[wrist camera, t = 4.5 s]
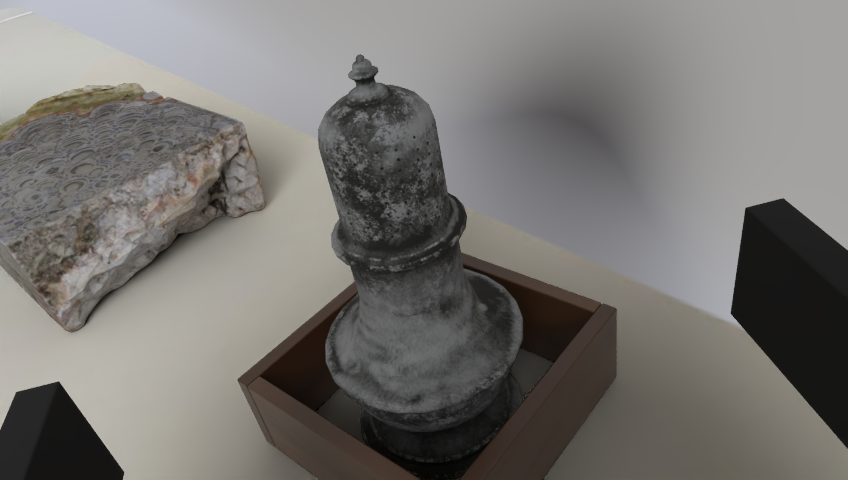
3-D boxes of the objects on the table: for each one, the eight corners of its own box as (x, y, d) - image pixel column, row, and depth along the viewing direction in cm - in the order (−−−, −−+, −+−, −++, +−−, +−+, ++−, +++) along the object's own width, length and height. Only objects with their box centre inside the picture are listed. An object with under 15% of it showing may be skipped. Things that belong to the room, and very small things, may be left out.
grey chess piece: (316, 450, 21) (170, 105, 14) (408, 327, 25) (330, 7, 18) (484, 520, 18) (405, 131, 11) (558, 368, 22) (535, 9, 15)
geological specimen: (15, 253, 24) (-104, 148, 33) (91, 362, 28) (-33, 242, 37) (248, 118, 30) (93, 59, 38) (285, 225, 34) (137, 149, 42)
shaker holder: (617, 376, 22) (617, 307, 20) (466, 587, 17) (449, 522, 15) (424, 294, 26) (411, 233, 25) (266, 441, 22) (236, 379, 20)
